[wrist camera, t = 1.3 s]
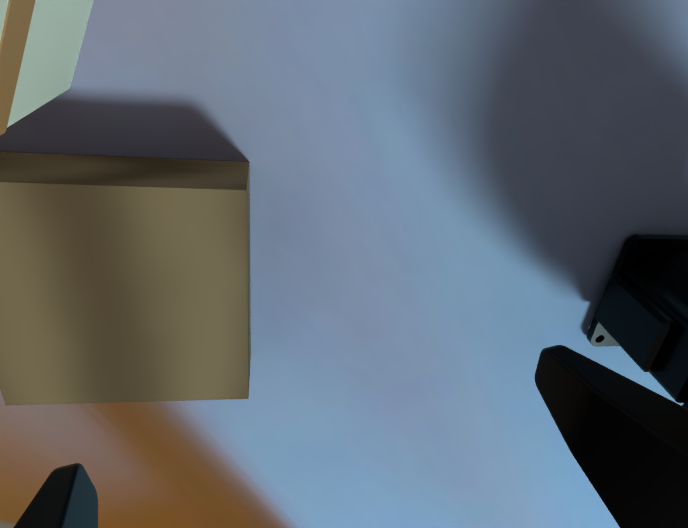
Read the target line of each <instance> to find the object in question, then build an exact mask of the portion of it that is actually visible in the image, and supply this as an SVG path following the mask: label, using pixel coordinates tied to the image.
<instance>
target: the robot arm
mask: <svg viewBox="0 0 688 528" xmlns="http://www.w3.org/2000/svg"><path fill="white" fill-rule="evenodd" d="M636 244H638V245H637V246H636V247H635V245H636ZM634 247H635V248H634ZM587 339H588V340H589V342H590V343H591V344H592V345H593V346H621V347H622V348H623V350H624V351H625V352H626V353H627V354H628V355H629V356H630V357H631V358H632V359H633V361H634V362H635V363H636V364H637V365H638V366H639V367H640V368H641V369H642V370H643V371H644V372H649V373H650V374H651V375H652V376H653V377H654V378H655V379H656V380H657V381H658V382H659V383H660V385H661V386H662V387H663V388H664V389H665V390H666V391H667V392H668V393H669V394H670V395H671V396H672V398H673V399H674V400H675V401H676V402H678V403H684V404H683V405H682V406H681V405H679V404H677V403H675V402H673V401H671V400H669V399H667V398H665V397H663V396H661V395H659V394H657V393H655V392H653V391H651V390H649V389H647V388H646V387H644V386H642V385H640V384H638V383H636V382H634V381H632V380H630V379H628V378H626V377H624V376H622V375H620V374H618V373H616V372H614V371H612V370H610V369H608V368H606V367H605V366H603V365H601V364H599V363H597V362H595V361H593V360H591V359H589V358H587V357H585V356H583V355H581V354H579V353H577V352H575V351H573V350H571V349H569V348H567V347H565V346H562V345H556V346H552V347H548V348H545V349H543V350H542V351H541V353H540V357H539V361H538V365H537V369H536V372H535V383H536V386H537V388H538V390H539V392H540V394H541V396H542V398H543V400H544V402H545V404H546V406H547V407H548V409H549V411H550V413H551V415H552V417H553V419H554V421H555V423H556V425H557V427H558V429H559V431H560V433H561V434H562V436H563V438H564V440H565V442H566V444H567V446H568V447H569V449H570V451H571V453H572V454H573V456H574V458H575V459H576V461H577V462H578V464H579V465H580V467H581V468H582V470H583V472H584V473H585V475H586V476H587V478H588V479H589V481H590V482H591V484H592V485H593V487H594V488H595V490H596V491H597V493H598V494H599V496H600V498H601V499H602V501H603V502H604V504H605V505H606V507H607V508H608V510H609V511H610V513H611V514H612V516H613V517H614V519H615V520H616V522H617V524H618V525H619V527H620V528H688V236H679V235H633V236H631V237H629V238H628V239H627V240H626V241H625V243H624V245H623V248H622V250H621V253H620V255H619V258H618V260H617V262H616V265H615V267H614V270H613V272H612V275H611V277H610V280H609V282H608V285H607V287H606V290H605V292H604V294H603V297H602V299H601V302H600V304H599V307H598V309H597V312H596V314H595V317H594V319H593V322H592V324H591V326H590V329H589V331H588V334H587ZM14 528H98V498H97V492H96V489H95V487H94V485H93V483H92V482H91V480H90V478H89V476H88V474H87V472H86V471H85V469H84V467H83V466H82V465H81V464H79V463H75V464H71V465H67V466H63V467H59V468H56V469H55V470H54V471H52V472H51V474H50V475H49V477H48V478H47V479H46V481H45V482H44V484H43V485H42V487H41V488H40V490H39V491H38V493H37V494H36V496H35V497H34V499H33V500H32V501H31V503H30V504H29V506H28V507H27V509H26V510H25V512H24V513H23V515H22V516H21V518H20V519H19V521H18V522H17V523H16V525H15V526H14Z"/></svg>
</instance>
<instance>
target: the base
mask: <svg viewBox="0 0 688 528" xmlns="http://www.w3.org/2000/svg"><path fill="white" fill-rule="evenodd" d="M250 357H251V342H250V193H249V162H242V161H218V160H193V159H169V158H145V157H121V156H96V155H72V154H48V153H24V152H0V389H1V392H2V395H3V398H4V401H5V404H6V405H36V404H73V403H110V402H147V401H184V400H221V399H248V396H249V376H250Z"/></svg>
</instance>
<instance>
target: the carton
mask: <svg viewBox="0 0 688 528" xmlns="http://www.w3.org/2000/svg"><path fill="white" fill-rule="evenodd" d="M93 1H94V0H0V135H2V134H4V133H5V132H6V130H7V127H9V126H11V125H12V124H14V123H15V122H17V121H19V120H20V119H22V118H23V117H25V116H27V115H28V114H30V113H31V112H33V111H35V110H36V109H38V108H39V107H41V106H42V105H44V104H46V103H47V102H49V101H50V100H52V99H54V98H55V97H57V96H58V95H60V94H62V93H63V92H65V91H66V90H68V89H70V86H71V82H72V79H73V75H74V71H75V68H76V64H77V60H78V57H79V53H80V49H81V46H82V42H83V38H84V34H85V31H86V27H87V23H88V20H89V16H90V12H91V9H92V5H93Z"/></svg>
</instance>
